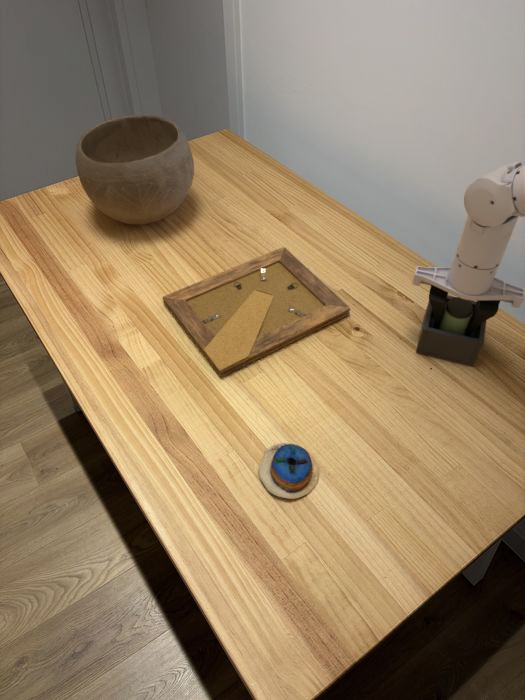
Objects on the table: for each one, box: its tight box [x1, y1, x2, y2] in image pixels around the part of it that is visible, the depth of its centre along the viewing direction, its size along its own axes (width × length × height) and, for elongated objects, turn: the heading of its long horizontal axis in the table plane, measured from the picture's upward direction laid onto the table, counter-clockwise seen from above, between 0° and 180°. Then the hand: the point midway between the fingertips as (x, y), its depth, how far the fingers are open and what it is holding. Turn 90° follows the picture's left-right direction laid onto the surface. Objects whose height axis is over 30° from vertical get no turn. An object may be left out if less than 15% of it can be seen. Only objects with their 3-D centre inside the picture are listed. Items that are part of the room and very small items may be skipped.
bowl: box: [75, 114, 195, 226], centre depth 102 cm, size 21×21×15 cm
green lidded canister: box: [438, 296, 473, 335], centre depth 81 cm, size 4×4×6 cm
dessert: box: [258, 442, 320, 500], centre depth 69 cm, size 8×7×6 cm
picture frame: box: [162, 246, 351, 378], centre depth 88 cm, size 19×2×24 cm
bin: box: [415, 294, 487, 367], centre depth 82 cm, size 8×8×5 cm
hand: (452, 328), depth 82 cm, fingers closed on green lidded canister, 4 cm apart
